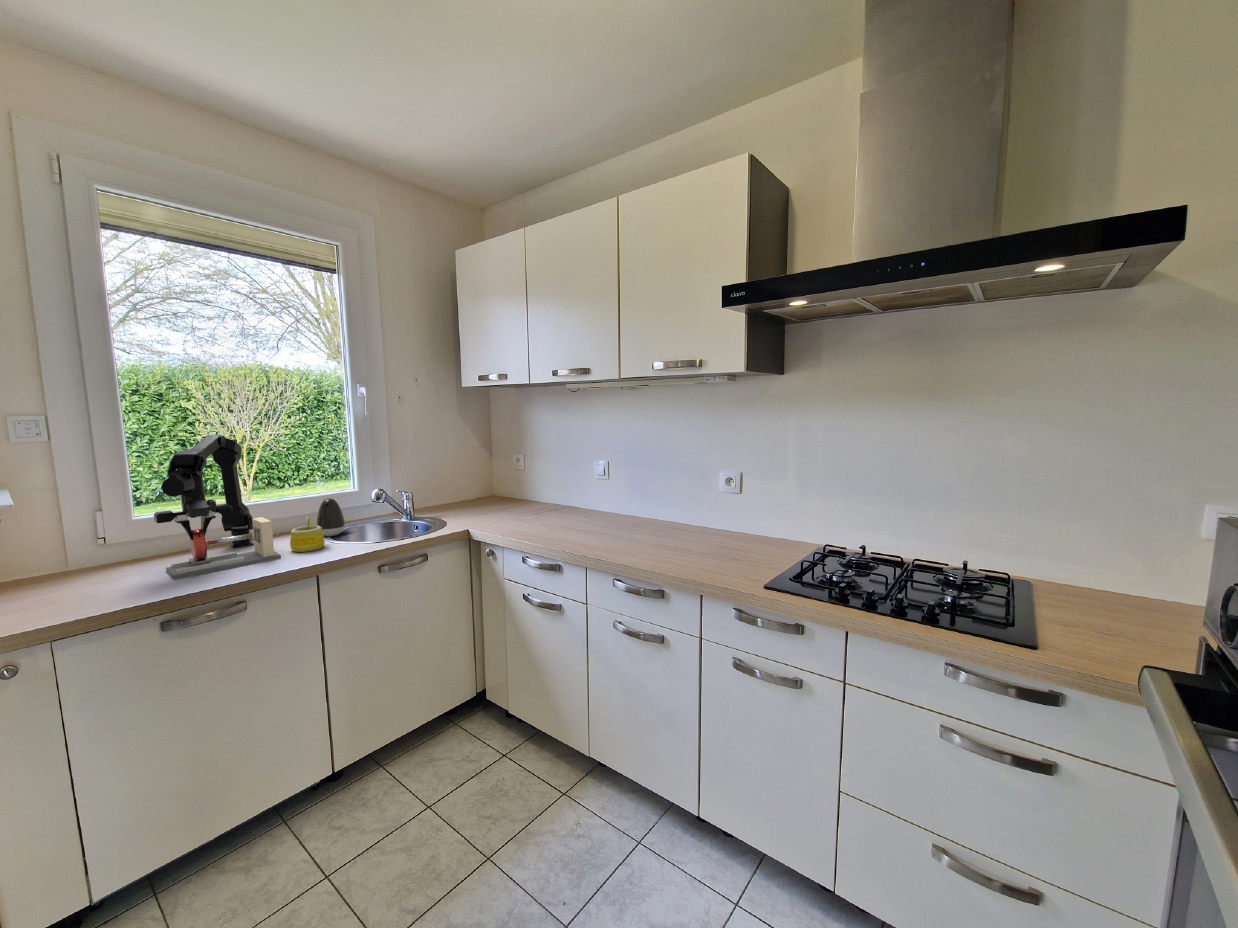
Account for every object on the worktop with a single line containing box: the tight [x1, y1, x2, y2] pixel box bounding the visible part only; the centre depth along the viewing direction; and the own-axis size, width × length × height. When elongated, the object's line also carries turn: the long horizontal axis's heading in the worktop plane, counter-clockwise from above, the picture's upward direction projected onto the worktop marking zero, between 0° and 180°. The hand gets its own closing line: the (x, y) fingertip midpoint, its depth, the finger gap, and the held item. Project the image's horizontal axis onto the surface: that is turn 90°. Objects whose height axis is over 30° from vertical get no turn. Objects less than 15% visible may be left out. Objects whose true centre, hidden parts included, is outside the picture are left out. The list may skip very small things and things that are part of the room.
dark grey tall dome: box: [315, 497, 346, 537], centre depth 204 cm, size 10×10×15 cm
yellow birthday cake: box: [289, 513, 325, 553], centre depth 184 cm, size 13×11×12 cm
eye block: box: [165, 516, 282, 581], centre depth 166 cm, size 13×28×13 cm, turn 140°
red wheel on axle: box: [188, 528, 253, 567], centre depth 165 cm, size 10×16×12 cm, turn 140°
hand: (197, 539), depth 160 cm, fingers closed on red wheel on axle, 2 cm apart
